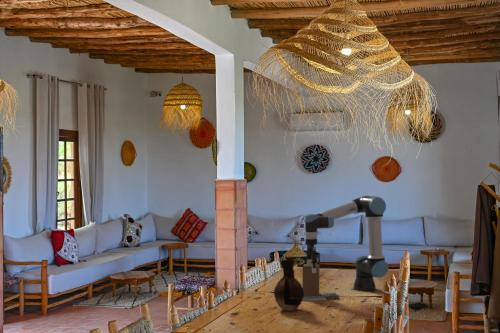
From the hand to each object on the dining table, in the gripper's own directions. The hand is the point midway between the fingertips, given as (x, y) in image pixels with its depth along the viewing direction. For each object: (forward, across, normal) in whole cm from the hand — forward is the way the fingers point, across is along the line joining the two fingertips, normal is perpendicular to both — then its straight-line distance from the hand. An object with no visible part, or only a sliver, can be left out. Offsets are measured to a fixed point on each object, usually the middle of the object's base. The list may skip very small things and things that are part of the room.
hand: (311, 271), depth 444 cm
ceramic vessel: (+17, +33, -22) cm, 43 cm away
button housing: (+17, +1, +12) cm, 21 cm away
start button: (+17, +1, +12) cm, 21 cm away
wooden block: (+16, 0, -1) cm, 16 cm away
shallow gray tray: (+17, 0, -1) cm, 17 cm away
